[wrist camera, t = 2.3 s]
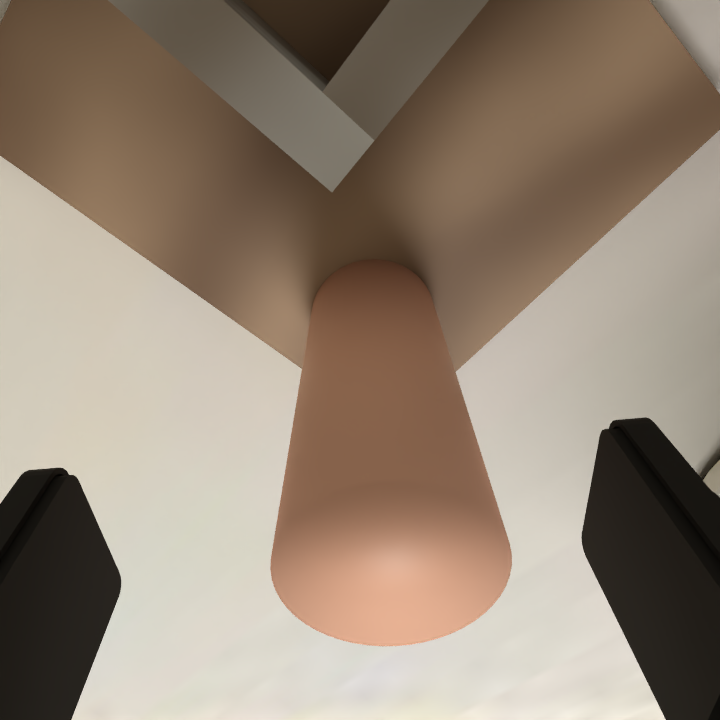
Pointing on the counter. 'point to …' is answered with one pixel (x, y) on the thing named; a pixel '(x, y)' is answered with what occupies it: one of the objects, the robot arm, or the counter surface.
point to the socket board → (352, 140)
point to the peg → (384, 473)
